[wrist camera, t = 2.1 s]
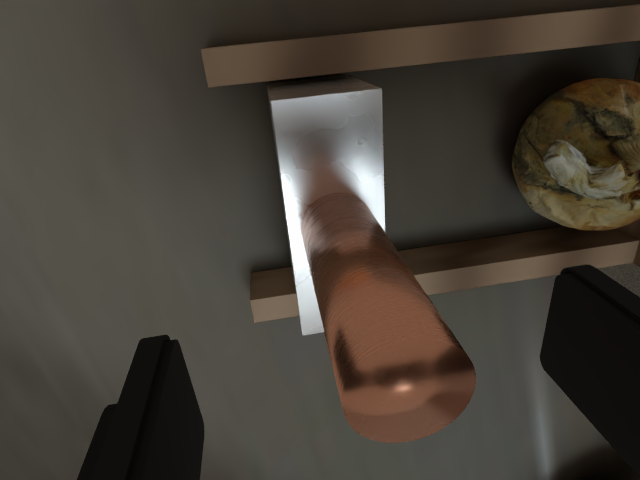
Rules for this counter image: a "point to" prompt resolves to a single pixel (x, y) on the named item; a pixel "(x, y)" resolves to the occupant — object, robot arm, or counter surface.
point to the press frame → (432, 47)
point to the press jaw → (360, 265)
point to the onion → (583, 155)
